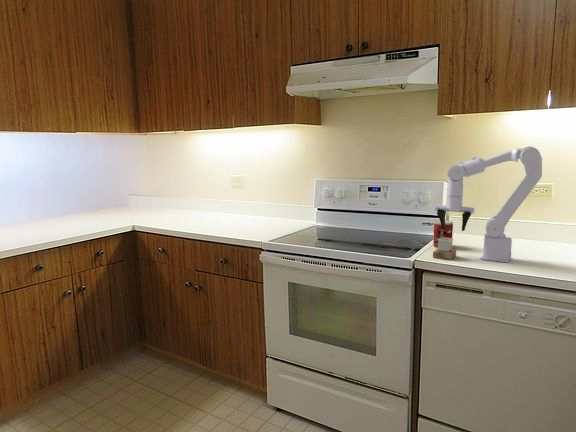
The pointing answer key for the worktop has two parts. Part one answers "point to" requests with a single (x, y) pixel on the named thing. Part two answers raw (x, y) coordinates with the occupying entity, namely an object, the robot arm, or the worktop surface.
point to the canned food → (442, 231)
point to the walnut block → (444, 254)
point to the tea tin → (445, 244)
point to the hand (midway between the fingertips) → (453, 229)
